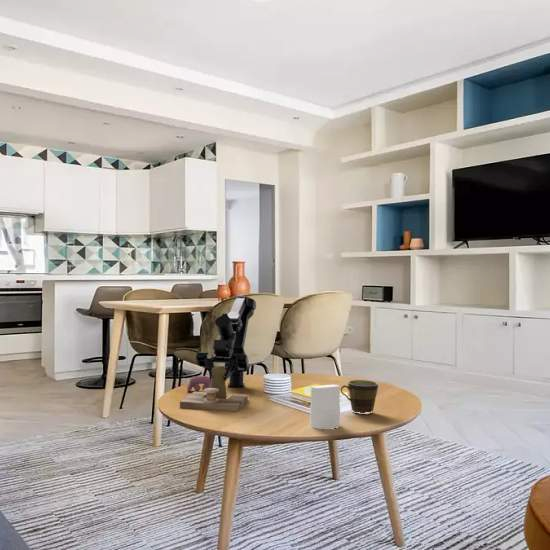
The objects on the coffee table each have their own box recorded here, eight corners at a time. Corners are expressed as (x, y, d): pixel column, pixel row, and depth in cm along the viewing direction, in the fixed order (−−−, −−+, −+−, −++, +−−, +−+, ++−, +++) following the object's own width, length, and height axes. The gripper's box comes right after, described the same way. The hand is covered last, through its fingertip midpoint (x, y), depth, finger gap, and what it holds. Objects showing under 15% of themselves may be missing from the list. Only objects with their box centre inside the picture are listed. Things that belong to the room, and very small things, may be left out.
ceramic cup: (369, 408, 187) (370, 379, 187) (382, 415, 177) (383, 385, 177) (334, 410, 184) (335, 380, 184) (346, 417, 174) (346, 386, 174)
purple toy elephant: (213, 395, 207) (215, 377, 211) (211, 392, 203) (213, 374, 206) (188, 394, 208) (190, 376, 211) (185, 391, 204) (188, 373, 207)
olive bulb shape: (224, 395, 196) (225, 365, 196) (228, 399, 190) (229, 368, 190) (208, 396, 194) (209, 365, 194) (211, 400, 188) (212, 368, 188)
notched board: (194, 396, 197) (194, 380, 197) (247, 400, 194) (248, 383, 194) (179, 407, 181) (180, 389, 181) (237, 411, 178) (238, 393, 178)
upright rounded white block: (328, 420, 170) (329, 382, 170) (345, 427, 162) (346, 388, 162) (304, 423, 166) (305, 384, 166) (320, 431, 158) (321, 390, 158)
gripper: (197, 329, 197) (187, 365, 186) (247, 332, 194) (240, 368, 183) (203, 348, 205) (193, 383, 194) (251, 350, 202) (244, 386, 191)
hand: (217, 379), depth 191 cm, fingers closed on olive bulb shape, 5 cm apart
